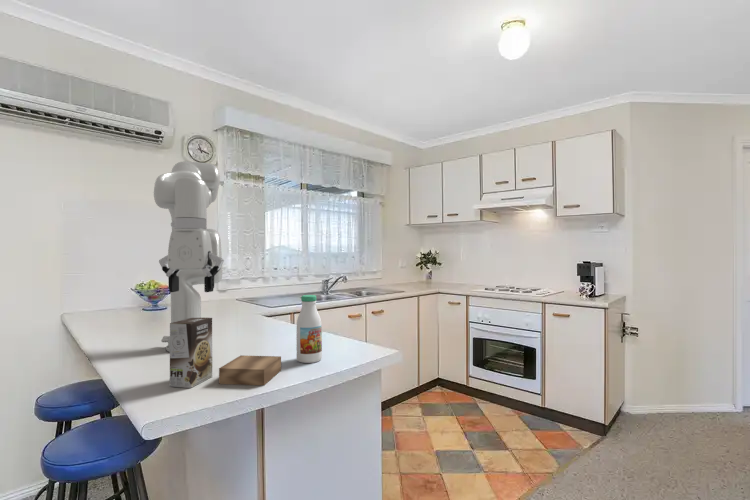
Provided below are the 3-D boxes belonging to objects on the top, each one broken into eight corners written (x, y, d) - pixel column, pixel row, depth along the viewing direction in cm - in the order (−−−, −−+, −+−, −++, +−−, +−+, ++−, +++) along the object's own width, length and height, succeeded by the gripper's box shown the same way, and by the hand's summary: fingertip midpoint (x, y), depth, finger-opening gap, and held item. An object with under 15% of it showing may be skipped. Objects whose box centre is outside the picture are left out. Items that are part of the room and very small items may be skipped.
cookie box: (191, 388, 96) (190, 323, 96) (168, 387, 97) (168, 322, 97) (213, 376, 105) (213, 317, 105) (192, 375, 106) (192, 316, 106)
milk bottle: (291, 362, 118) (291, 296, 118) (304, 355, 125) (304, 293, 125) (314, 364, 115) (313, 297, 115) (326, 357, 122) (325, 294, 122)
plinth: (219, 383, 99) (219, 368, 99) (240, 369, 111) (240, 355, 111) (264, 385, 98) (264, 369, 98) (281, 370, 110) (281, 356, 110)
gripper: (150, 225, 98) (150, 293, 98) (214, 224, 96) (215, 293, 96) (169, 227, 106) (169, 290, 105) (229, 226, 104) (230, 290, 104)
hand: (191, 291), depth 101 cm, fingers open, 9 cm apart
